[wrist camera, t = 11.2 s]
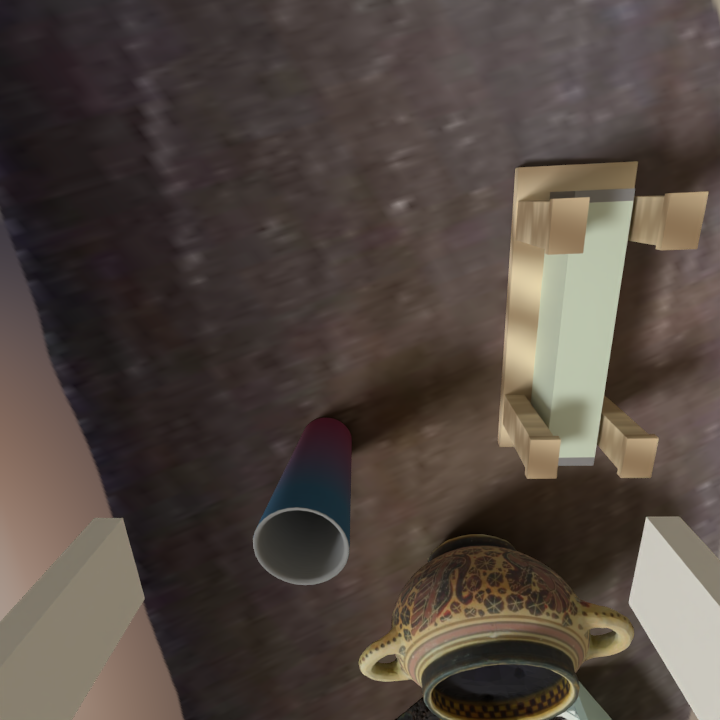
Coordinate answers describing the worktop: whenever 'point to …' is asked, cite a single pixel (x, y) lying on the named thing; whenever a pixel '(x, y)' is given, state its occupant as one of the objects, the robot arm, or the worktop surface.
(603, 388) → the rail
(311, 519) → the cup
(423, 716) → the yellow patterned cube
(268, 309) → the worktop surface
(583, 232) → the bar on post stand
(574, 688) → the ceramic bowl
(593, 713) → the l-shaped corner panel
